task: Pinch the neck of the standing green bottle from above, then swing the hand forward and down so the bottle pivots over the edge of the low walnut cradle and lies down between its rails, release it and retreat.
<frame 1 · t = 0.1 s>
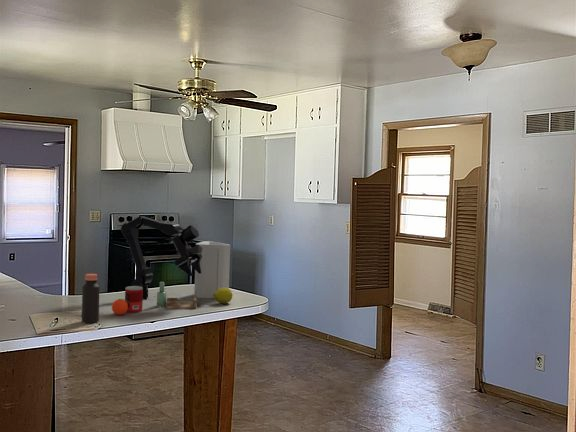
hand: (196, 274, 293), 15 cm above the table, tool tilted 30°, fingers open, 9 cm apart
cradle: (180, 305, 290), on the table
canned food: (133, 311, 274), on the table
bottle: (161, 305, 288), on the table
paper bag: (207, 296, 318), on the table
vinegar: (90, 322, 251), on the table
clementine: (120, 314, 267), on the table
lemon: (222, 303, 299), on the table
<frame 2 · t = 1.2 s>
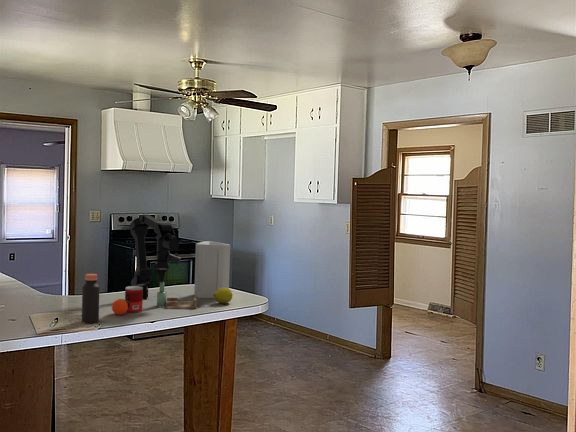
hand: (162, 281, 288), 12 cm above the table, tool pointing down, fingers open, 9 cm apart
nothing on the table moved.
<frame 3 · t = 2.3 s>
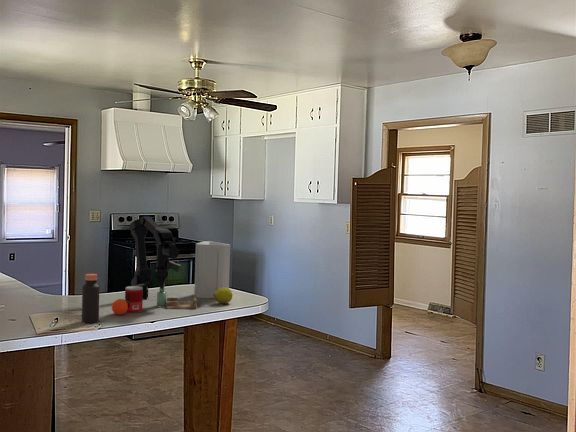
hand: (161, 288, 288), 9 cm above the table, tool pointing down, fingers closed on bottle, 2 cm apart
bottle: (161, 305, 288), on the table, touching gripper
everything else where it was.
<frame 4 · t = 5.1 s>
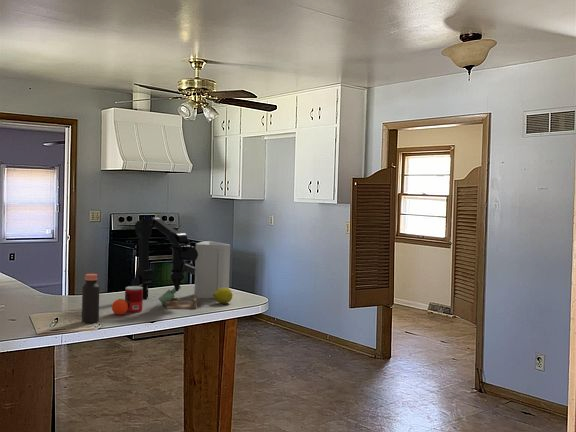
hand: (177, 290, 289), 7 cm above the table, tool pointing down, fingers closed on bottle, 2 cm apart
bottle: (161, 301, 288), point 2 cm above the table, tilted 46°, touching cradle, gripper
everything else where it was.
when the fingers open (4 cm above the table, at t = 6.8 s): bottle stays where it is and tips over, resting on cradle.
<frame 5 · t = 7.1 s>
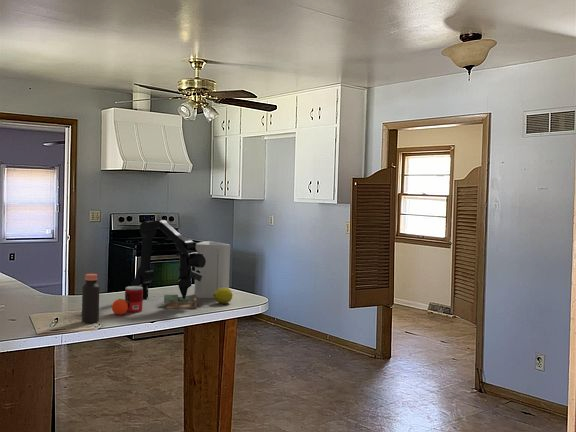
hand: (184, 297, 290), 4 cm above the table, tool pointing down, fingers open, 5 cm apart
bottle: (164, 299, 288), point 3 cm above the table, tilted 90°, touching cradle
everything else where it was.
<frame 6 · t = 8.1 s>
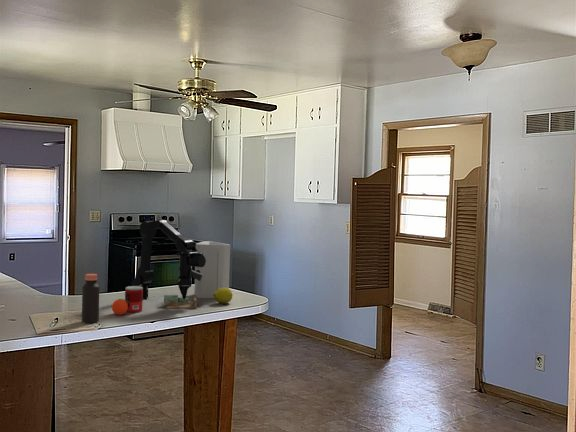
hand: (184, 297, 290), 4 cm above the table, tool pointing down, fingers open, 9 cm apart
bottle: (164, 299, 287), point 3 cm above the table, tilted 90°, touching cradle
everything else where it was.
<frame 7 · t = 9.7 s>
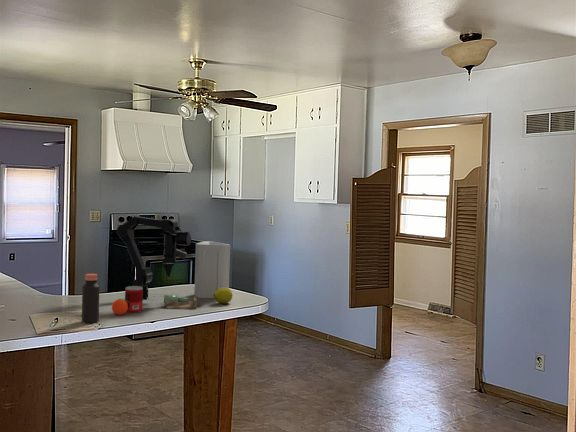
hand: (168, 275, 300), 13 cm above the table, tool pointing down, fingers open, 9 cm apart
nothing on the table moved.
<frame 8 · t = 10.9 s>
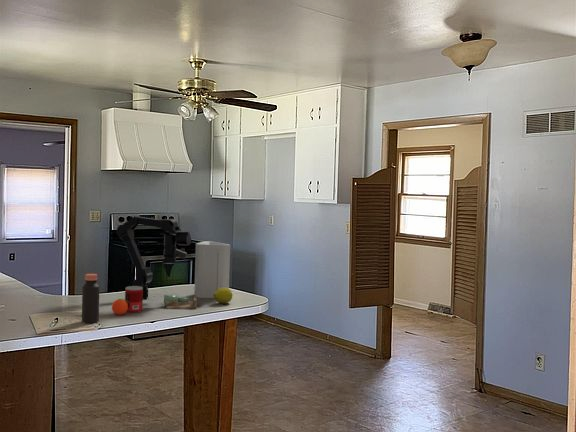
hand: (169, 275, 300), 13 cm above the table, tool pointing down, fingers open, 9 cm apart
nothing on the table moved.
at the end: bottle tilted 90°; bottle inside the target area (3.9 cm from its centre), point 3.2 cm above the table; the gripper is holding nothing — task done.
